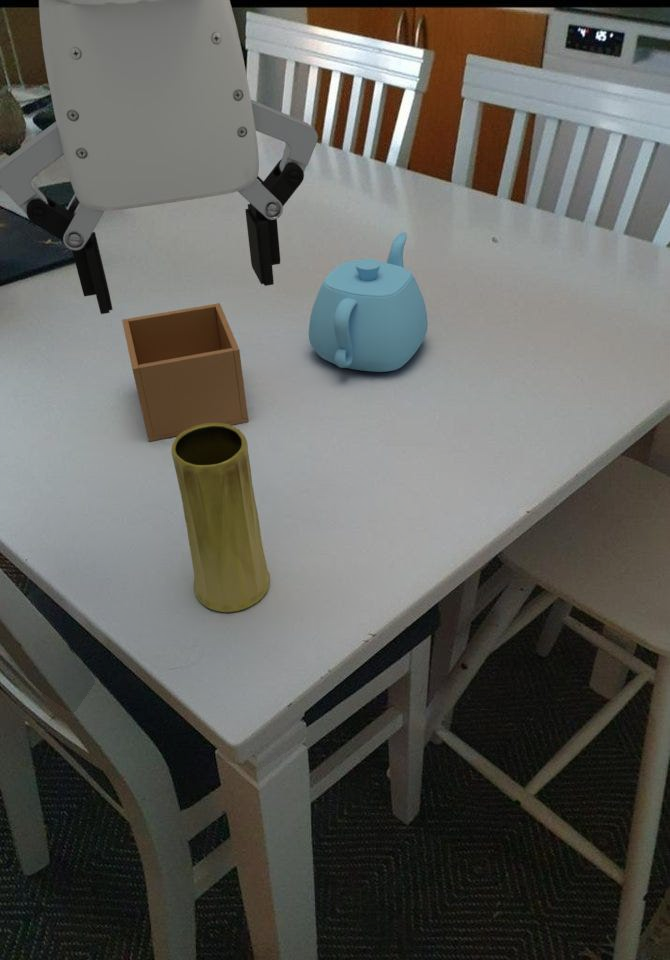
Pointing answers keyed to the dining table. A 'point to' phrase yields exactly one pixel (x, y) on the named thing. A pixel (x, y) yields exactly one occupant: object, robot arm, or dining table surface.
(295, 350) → the dining table surface
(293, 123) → the robot arm
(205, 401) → the package
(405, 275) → the teapot
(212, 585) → the vase
